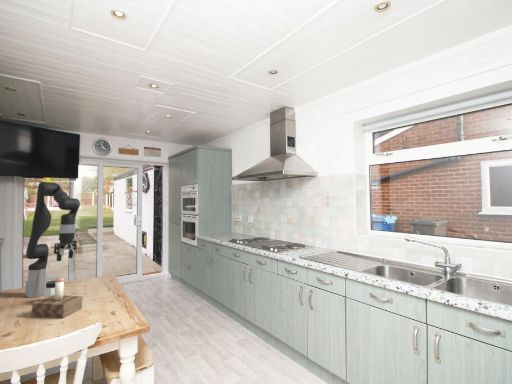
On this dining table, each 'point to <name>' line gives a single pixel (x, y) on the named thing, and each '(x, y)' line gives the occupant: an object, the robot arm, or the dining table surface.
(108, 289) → the dining table surface
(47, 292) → the jar
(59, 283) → the plug
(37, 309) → the socket block
